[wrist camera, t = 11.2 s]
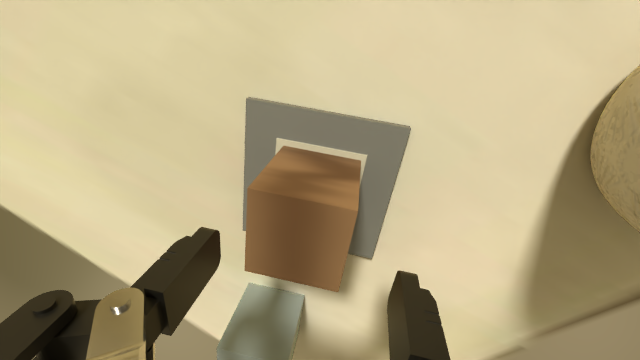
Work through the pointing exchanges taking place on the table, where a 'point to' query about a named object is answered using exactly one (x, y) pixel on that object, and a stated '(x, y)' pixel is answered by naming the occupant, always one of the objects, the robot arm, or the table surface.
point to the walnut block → (302, 217)
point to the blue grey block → (262, 325)
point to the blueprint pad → (335, 139)
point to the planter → (620, 150)
